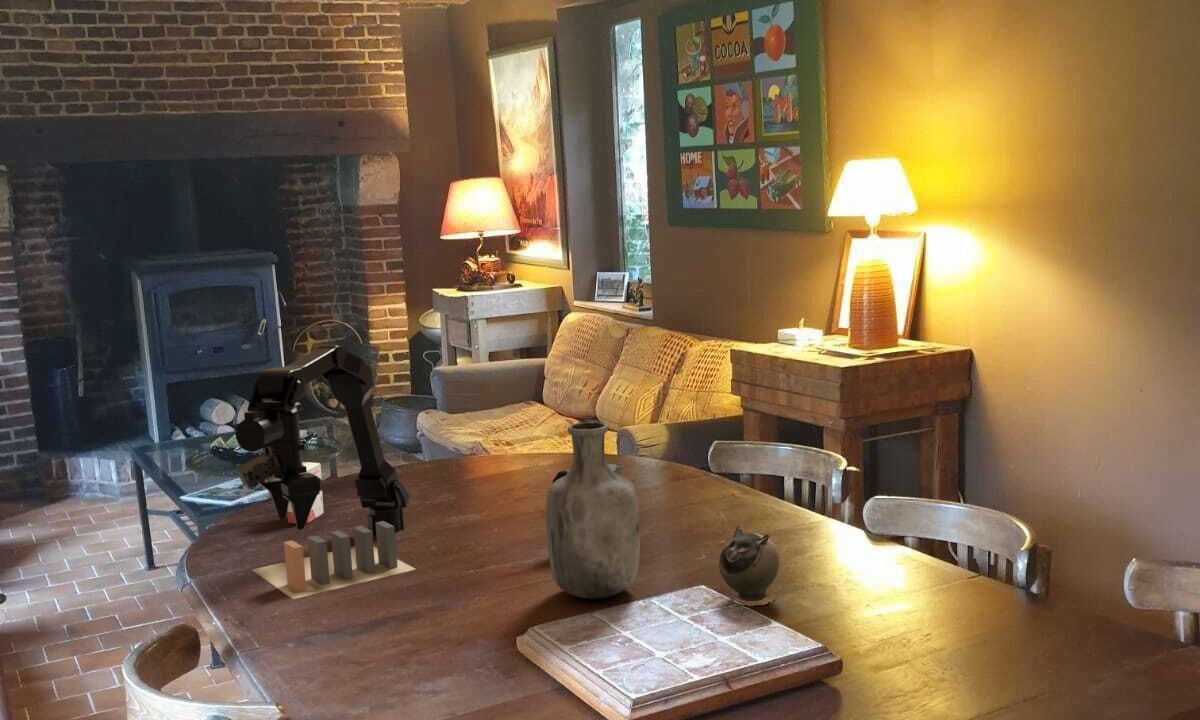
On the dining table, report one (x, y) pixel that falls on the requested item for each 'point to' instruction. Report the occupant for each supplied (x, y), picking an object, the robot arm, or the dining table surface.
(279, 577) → the domino board
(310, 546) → the domino
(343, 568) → the domino
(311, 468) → the ink box
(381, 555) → the domino
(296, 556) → the end tile
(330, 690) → the dining table surface
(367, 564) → the domino
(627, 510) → the vase
